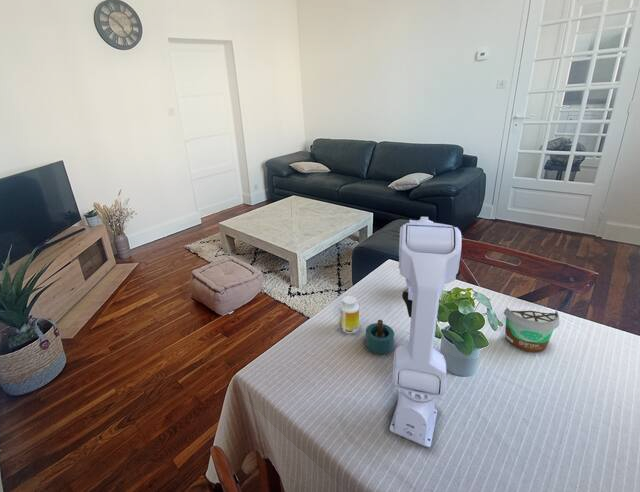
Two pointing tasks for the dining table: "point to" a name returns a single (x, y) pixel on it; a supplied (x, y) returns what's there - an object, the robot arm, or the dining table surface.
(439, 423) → the dining table surface
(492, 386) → the dining table surface
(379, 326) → the brush
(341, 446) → the dining table surface
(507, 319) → the food container
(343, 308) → the supplement bottle
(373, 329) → the teal ring pot
